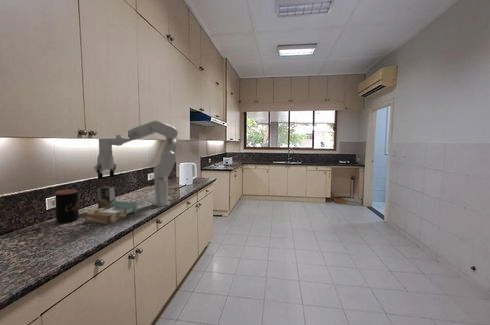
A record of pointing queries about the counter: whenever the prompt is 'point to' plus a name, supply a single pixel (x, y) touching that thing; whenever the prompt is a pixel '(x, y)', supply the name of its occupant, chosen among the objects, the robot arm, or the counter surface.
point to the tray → (121, 207)
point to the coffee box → (106, 197)
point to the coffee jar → (66, 206)
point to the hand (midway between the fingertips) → (106, 177)
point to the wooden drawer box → (104, 216)
